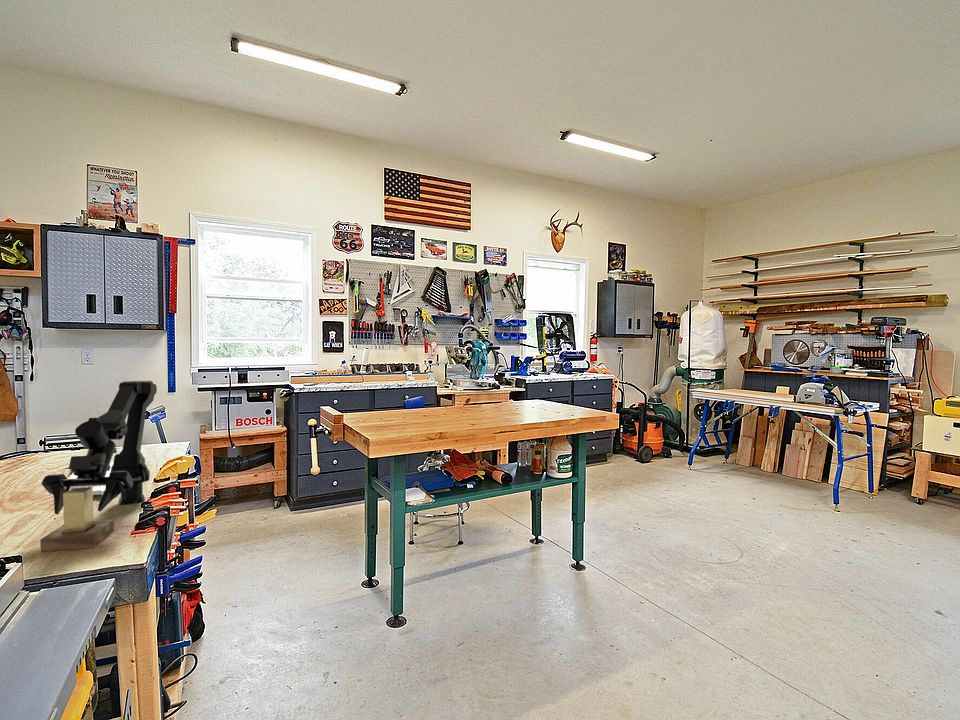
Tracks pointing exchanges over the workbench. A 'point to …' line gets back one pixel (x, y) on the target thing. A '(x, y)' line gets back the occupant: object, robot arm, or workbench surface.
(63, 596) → the workbench surface
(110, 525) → the walnut block
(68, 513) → the pale yellow rectangular block
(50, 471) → the workbench surface
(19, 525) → the workbench surface
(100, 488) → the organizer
